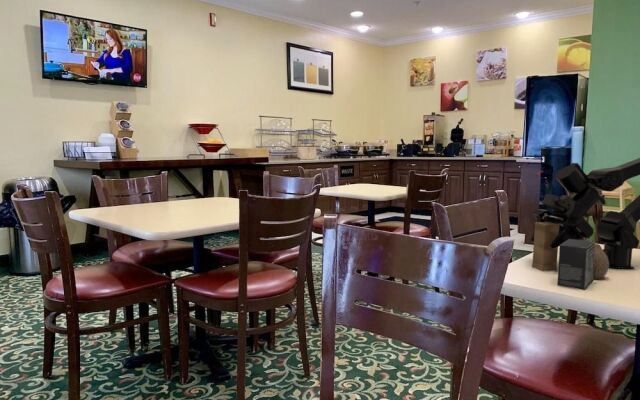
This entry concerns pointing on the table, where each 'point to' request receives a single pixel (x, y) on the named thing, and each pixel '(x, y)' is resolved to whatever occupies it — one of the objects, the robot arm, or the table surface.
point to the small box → (576, 263)
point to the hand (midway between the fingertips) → (541, 244)
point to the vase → (600, 263)
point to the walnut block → (545, 246)
